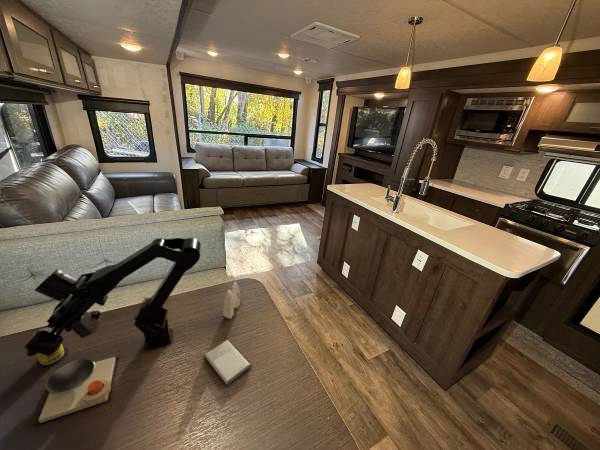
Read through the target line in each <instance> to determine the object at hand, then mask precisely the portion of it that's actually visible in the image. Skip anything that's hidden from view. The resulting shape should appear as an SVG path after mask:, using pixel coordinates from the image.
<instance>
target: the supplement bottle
mask: <svg viewBox="0 0 600 450" xmlns="http://www.w3.org/2000/svg"><path fill="white" fill-rule="evenodd" d="M41 330H45V331H48V332H50V331H51V330H52V328H47V327H44V328H41V329H38V331H41ZM35 333H36V332H34V333H33V335H34V334H35ZM55 334H56V333H55ZM64 354H65V350H64V347H63V344H62V343H61V344H60V346H59V348H58V349H57V350H56V351H55V352H54V353H53V354H52V355H50V356H47V355H44V354H40V353H38V354H35V355H36V358H37V360H38V362H39V364H40V365H43V366H45V365H51V364H53V363H56V362H57V361H59V360H60V359H61V358H62V357H63V356H64Z"/></svg>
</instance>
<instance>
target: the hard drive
mask: <svg viewBox="0 0 600 450" xmlns="http://www.w3.org/2000/svg"><path fill="white" fill-rule="evenodd" d="M204 357H205V359H206V361H208V363H209V364H210V365H211V367H212V368H213V369H214V370H215V372H216V373H217V374H218V375H219V377H220V378H221V379H222V381H223V382H224V383H225V385H227V386H228V385H230V384H231V383H232V382H233V381H235V380H236V379H237V378H238V377H240V376H241V375H242V374H244V373H245V372H246V371H247V370H249V369H250V368H251V364H250V362H249V361H248V360H247V359H246V358H245V357H244V356H243V355H242V353H240V352H239V351H238V349H236V348H235V346H234V345H233V344H232V343H231V342H230V341H229V340H228V339H226V340H225V341H223V342H222V343H220V344H219V345H217V346H215V347H214V348H212V349H211V350H209V351H207V352H206V353H205V355H204Z"/></svg>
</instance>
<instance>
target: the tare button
mask: <svg viewBox="0 0 600 450" xmlns="http://www.w3.org/2000/svg"><path fill="white" fill-rule="evenodd" d="M102 388H103V385H102V383H101V381H100V380H95V381H93V382H92V383H90V384H89V386H88V388H87V389H88V392H89V394H90V395H95V394H97V393H99V392H100V391H101V390H102Z"/></svg>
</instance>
